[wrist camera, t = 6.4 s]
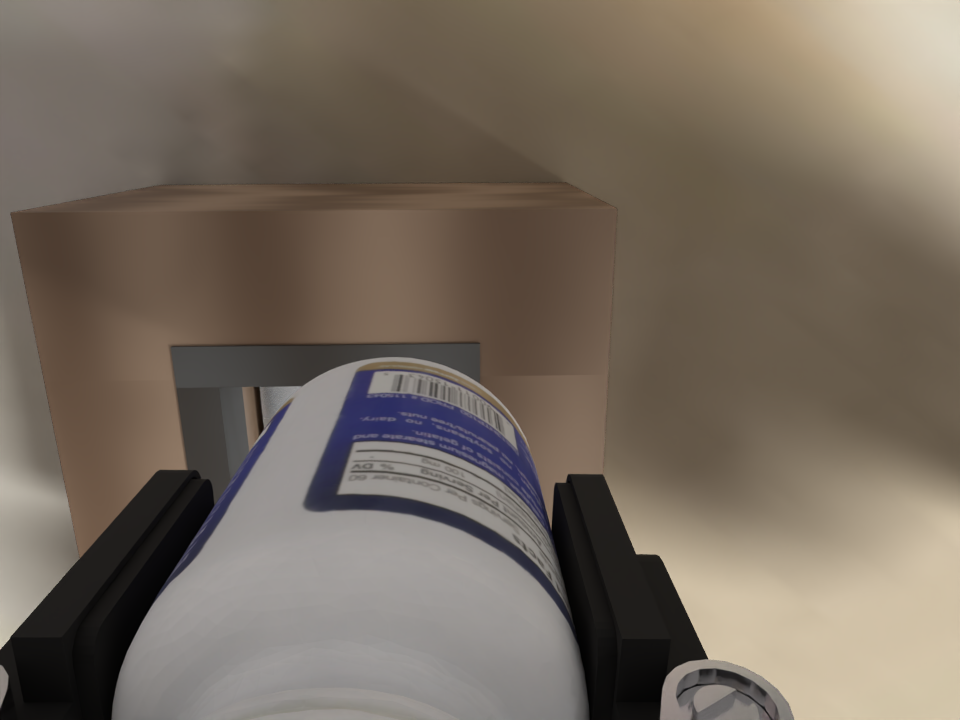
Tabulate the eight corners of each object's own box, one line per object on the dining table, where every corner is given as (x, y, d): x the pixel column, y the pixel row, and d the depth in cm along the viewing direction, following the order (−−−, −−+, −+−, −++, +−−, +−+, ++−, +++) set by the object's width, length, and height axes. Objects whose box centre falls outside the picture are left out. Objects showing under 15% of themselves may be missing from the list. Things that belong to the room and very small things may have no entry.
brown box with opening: (565, 182, 29) (618, 209, 19) (554, 534, 34) (591, 695, 24) (160, 184, 28) (8, 213, 19) (208, 541, 33) (107, 706, 24)
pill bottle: (352, 638, 15) (207, 1318, 6) (203, 433, 13) (-245, 960, 5) (584, 527, 14) (767, 1119, 6) (453, 298, 13) (438, 639, 4)
